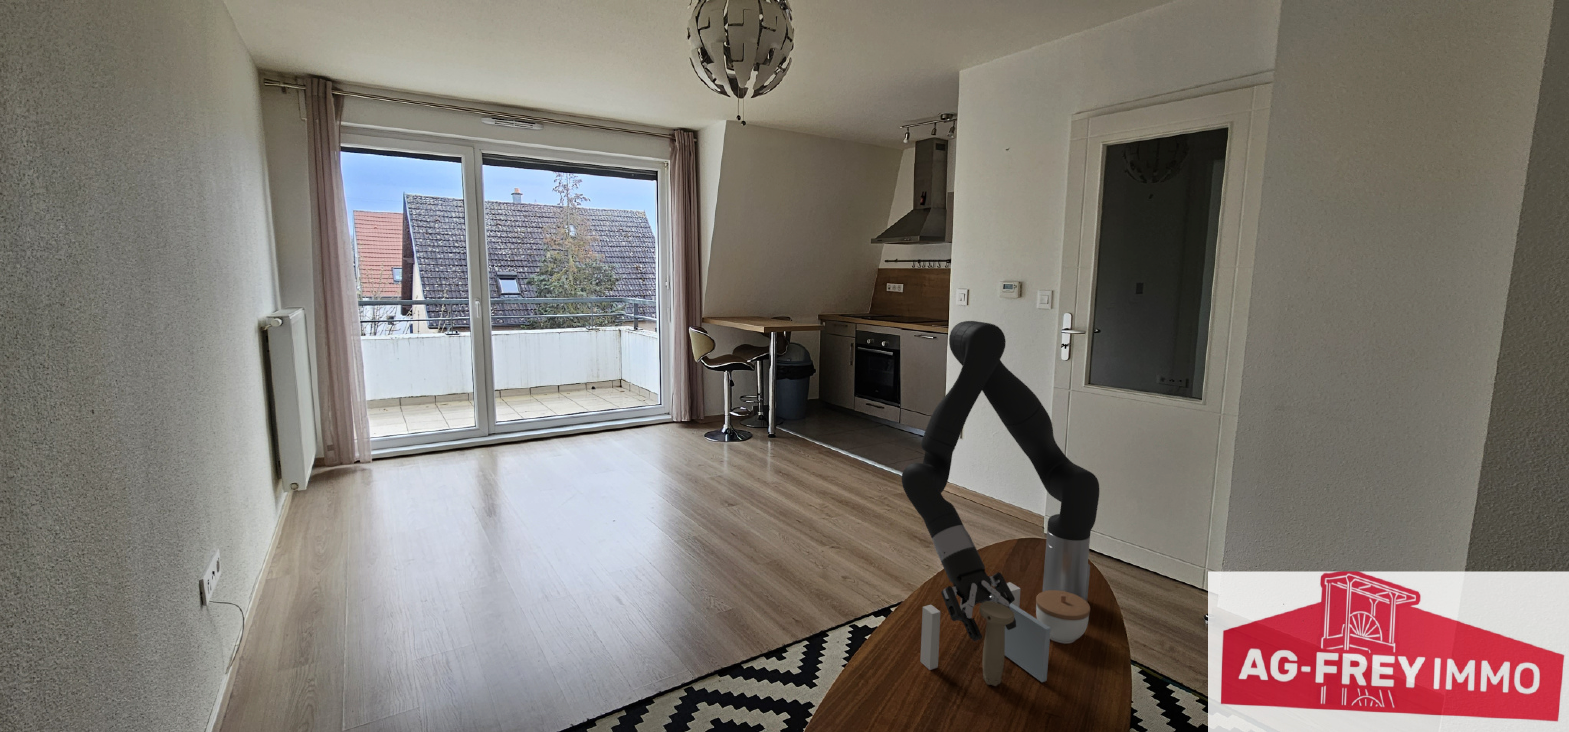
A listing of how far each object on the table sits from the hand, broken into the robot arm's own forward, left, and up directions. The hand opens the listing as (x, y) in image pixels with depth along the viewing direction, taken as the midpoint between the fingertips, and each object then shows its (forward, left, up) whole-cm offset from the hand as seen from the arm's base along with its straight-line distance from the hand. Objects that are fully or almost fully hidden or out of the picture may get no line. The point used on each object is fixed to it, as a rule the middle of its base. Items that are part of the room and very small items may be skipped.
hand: (995, 633), depth 128 cm
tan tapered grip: (0, 0, -10) cm, 10 cm away
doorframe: (-3, -10, -10) cm, 14 cm away
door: (-8, -3, -9) cm, 13 cm away
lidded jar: (-24, -6, -10) cm, 27 cm away
